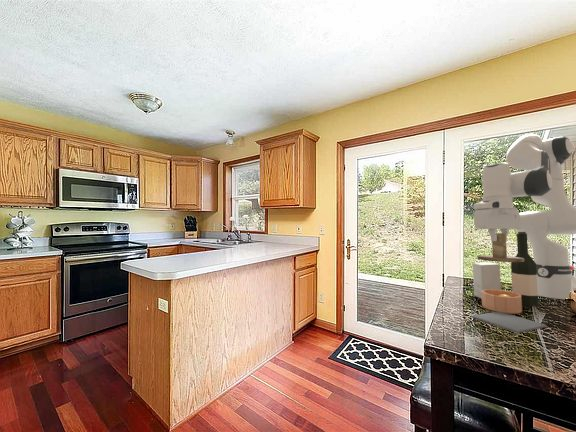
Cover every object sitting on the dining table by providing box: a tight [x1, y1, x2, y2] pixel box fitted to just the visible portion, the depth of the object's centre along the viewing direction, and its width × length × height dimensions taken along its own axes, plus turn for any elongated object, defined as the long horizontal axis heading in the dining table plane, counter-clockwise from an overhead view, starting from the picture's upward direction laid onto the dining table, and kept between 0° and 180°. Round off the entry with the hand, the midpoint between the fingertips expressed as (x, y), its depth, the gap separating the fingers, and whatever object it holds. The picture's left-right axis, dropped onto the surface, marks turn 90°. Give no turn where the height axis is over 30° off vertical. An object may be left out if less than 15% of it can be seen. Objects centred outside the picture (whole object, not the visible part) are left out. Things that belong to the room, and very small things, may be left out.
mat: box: [471, 311, 548, 334], centre depth 86 cm, size 14×14×1 cm
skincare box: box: [472, 261, 502, 300], centre depth 114 cm, size 8×7×16 cm
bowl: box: [481, 289, 523, 315], centre depth 100 cm, size 12×12×6 cm
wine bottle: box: [510, 232, 539, 307], centre depth 106 cm, size 8×8×30 cm
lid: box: [476, 232, 524, 263], centre depth 96 cm, size 14×14×10 cm
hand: (499, 241), depth 96 cm, fingers closed on lid, 3 cm apart
